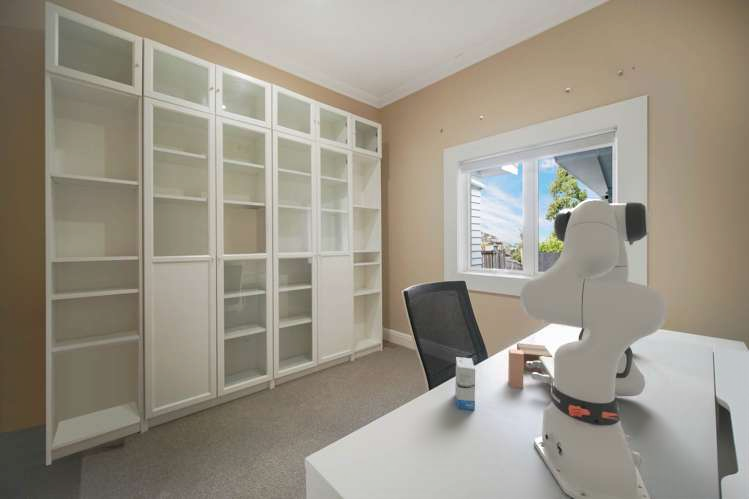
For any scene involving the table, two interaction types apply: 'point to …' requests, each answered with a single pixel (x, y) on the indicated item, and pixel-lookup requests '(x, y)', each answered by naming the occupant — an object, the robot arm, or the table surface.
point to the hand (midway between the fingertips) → (528, 369)
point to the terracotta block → (516, 368)
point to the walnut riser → (533, 354)
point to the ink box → (465, 383)
